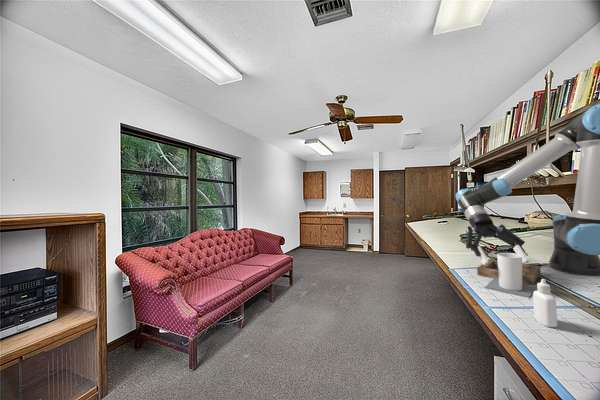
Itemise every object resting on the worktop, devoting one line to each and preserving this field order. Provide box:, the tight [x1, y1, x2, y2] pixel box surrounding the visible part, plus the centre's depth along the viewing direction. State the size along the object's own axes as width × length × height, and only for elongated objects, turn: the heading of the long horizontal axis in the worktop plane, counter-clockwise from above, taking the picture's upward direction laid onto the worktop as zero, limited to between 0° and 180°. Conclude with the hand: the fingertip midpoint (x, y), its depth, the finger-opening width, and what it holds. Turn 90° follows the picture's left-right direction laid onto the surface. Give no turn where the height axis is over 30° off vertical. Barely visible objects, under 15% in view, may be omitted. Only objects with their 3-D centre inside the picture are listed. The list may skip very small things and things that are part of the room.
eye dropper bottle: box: [532, 278, 558, 328], centre depth 64 cm, size 4×6×12 cm
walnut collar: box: [476, 258, 542, 286], centre depth 98 cm, size 17×17×3 cm
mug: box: [496, 252, 523, 291], centre depth 86 cm, size 10×7×12 cm, turn 128°
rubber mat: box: [484, 278, 537, 299], centre depth 86 cm, size 12×12×1 cm
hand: (505, 262), depth 87 cm, fingers open, 13 cm apart
